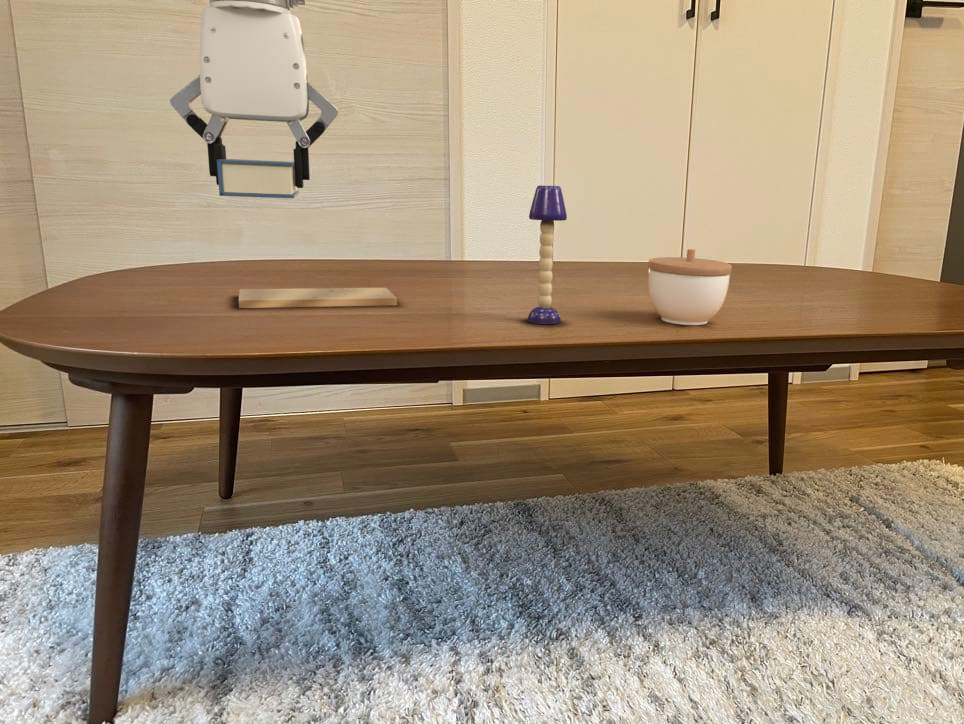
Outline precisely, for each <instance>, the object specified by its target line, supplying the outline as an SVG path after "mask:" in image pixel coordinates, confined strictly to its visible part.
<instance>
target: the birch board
mask: <svg viewBox="0 0 964 724" xmlns="http://www.w3.org/2000/svg"><path fill="white" fill-rule="evenodd" d="M382 306H383V307H384V306H385V307H387V306H389V307H390V306H398V298H397V297H396V295H394V293H393V292H392V291H390V289H389V288H387V287H323V288H322V287H321V288H320V287H319V288H318V287H316V288H315V287H313V288H310V287H308V288H303V287H302V288H301V287H300V288H299V287H298V288H239V290H238V308H239V309H262V308H263V309H264V308H265V309H266V308H267V309H268V308H270V309H271V308H320V307H321V308H325V307H326V308H327V307H328V308H329V307H333V308H334V307H382Z"/></svg>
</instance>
